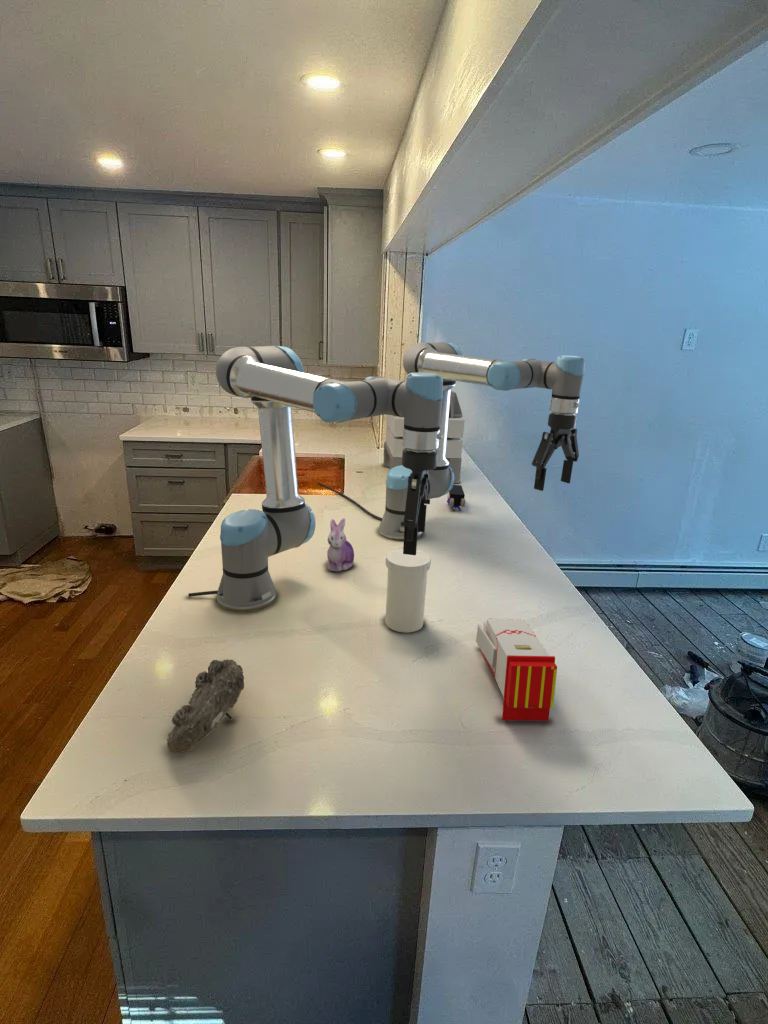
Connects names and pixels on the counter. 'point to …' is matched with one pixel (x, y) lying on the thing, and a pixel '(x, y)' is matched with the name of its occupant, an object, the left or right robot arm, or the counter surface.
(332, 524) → the figurine
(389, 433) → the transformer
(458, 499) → the figurine character
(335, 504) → the counter surface
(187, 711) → the fossil
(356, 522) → the counter surface
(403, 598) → the jar
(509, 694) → the toy
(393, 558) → the lid
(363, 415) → the left robot arm
